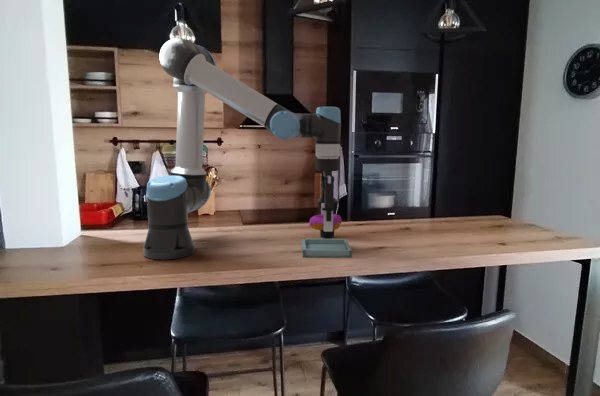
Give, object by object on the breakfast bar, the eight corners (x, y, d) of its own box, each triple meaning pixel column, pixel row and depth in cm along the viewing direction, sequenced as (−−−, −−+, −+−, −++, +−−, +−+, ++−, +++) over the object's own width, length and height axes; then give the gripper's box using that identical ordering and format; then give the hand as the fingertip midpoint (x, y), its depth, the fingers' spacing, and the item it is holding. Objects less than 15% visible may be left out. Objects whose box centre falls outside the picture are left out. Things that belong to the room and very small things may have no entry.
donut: (326, 223, 140) (326, 210, 139) (348, 229, 133) (349, 215, 132) (303, 228, 134) (303, 214, 133) (324, 234, 126) (325, 219, 125)
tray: (302, 257, 127) (303, 250, 127) (301, 244, 141) (301, 238, 141) (352, 257, 128) (352, 250, 127) (346, 245, 141) (346, 238, 141)
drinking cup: (336, 240, 148) (337, 184, 144) (315, 238, 149) (316, 183, 146) (338, 235, 155) (340, 181, 152) (318, 233, 157) (319, 180, 153)
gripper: (344, 160, 118) (342, 236, 121) (335, 155, 141) (334, 219, 145) (318, 160, 118) (317, 236, 121) (313, 155, 141) (312, 219, 144)
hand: (326, 226), depth 133 cm, fingers closed on donut, 11 cm apart
